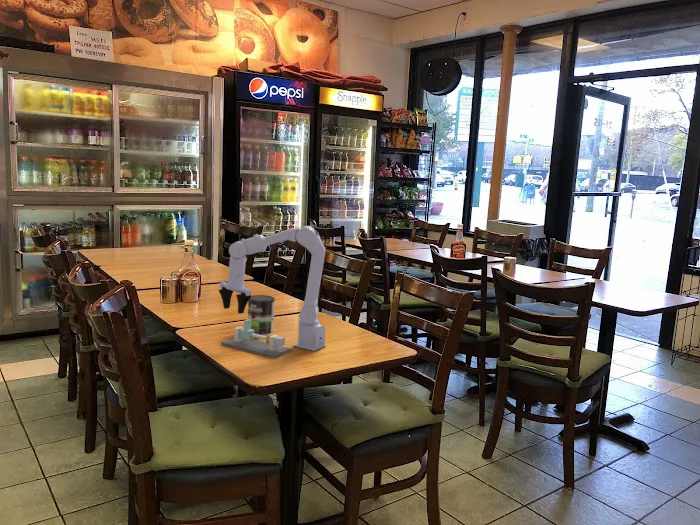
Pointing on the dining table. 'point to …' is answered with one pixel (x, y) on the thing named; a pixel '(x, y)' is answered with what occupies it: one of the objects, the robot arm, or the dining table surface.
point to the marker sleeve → (247, 330)
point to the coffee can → (261, 314)
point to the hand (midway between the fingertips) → (233, 310)
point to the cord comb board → (258, 344)
